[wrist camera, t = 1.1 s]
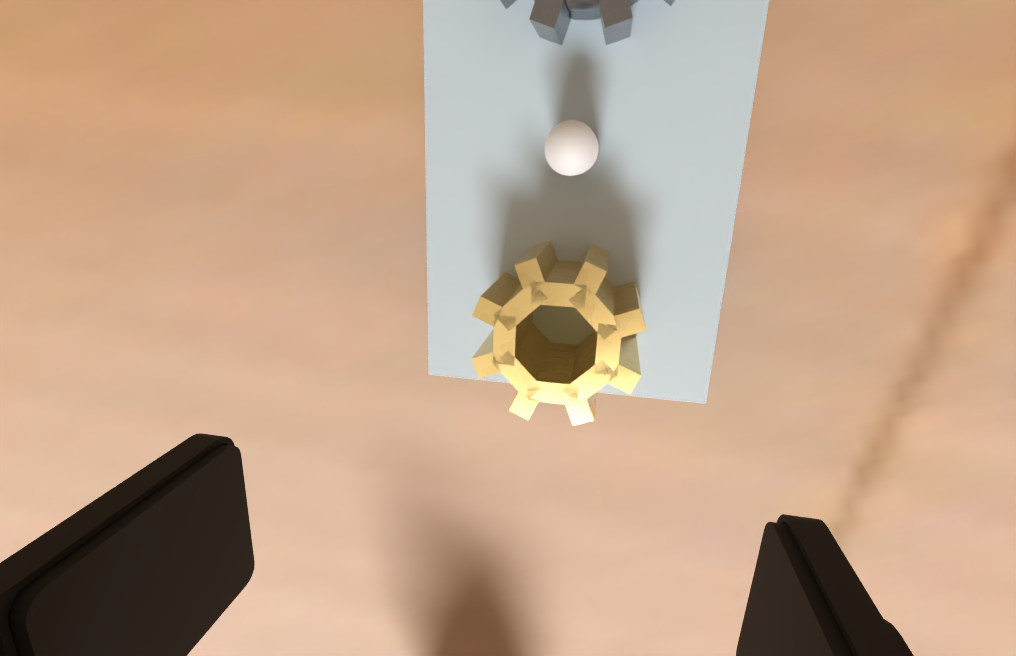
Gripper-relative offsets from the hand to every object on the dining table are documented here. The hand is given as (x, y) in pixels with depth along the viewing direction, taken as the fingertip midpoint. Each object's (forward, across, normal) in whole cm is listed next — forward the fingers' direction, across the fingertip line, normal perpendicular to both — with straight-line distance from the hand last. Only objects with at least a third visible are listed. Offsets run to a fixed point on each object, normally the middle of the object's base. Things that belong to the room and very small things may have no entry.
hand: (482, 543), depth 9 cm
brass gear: (+17, 0, 0) cm, 17 cm away
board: (+19, 0, -8) cm, 21 cm away
